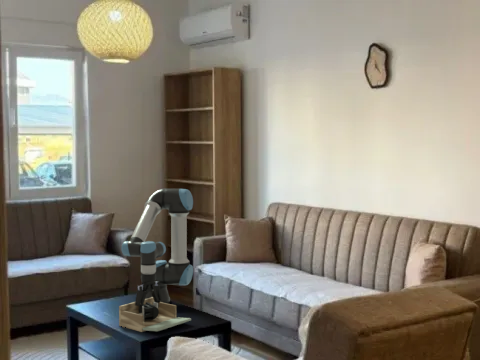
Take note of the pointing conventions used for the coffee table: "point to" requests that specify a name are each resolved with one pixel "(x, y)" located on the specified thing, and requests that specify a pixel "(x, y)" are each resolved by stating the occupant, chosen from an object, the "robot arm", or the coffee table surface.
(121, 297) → the coffee table surface
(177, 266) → the robot arm
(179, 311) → the coffee table surface
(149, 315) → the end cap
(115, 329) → the coffee table surface
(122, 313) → the wooden tray box
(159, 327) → the panel
